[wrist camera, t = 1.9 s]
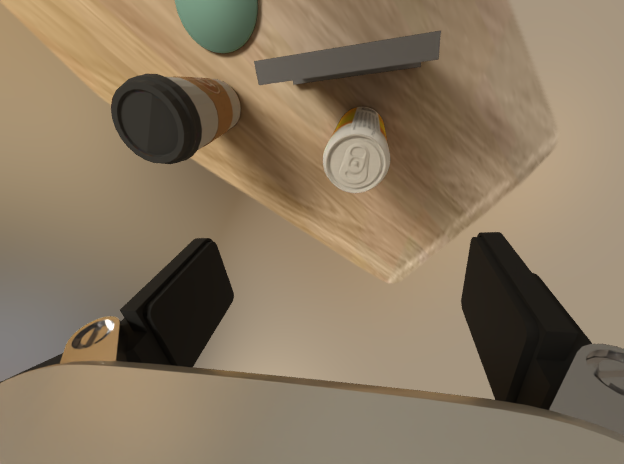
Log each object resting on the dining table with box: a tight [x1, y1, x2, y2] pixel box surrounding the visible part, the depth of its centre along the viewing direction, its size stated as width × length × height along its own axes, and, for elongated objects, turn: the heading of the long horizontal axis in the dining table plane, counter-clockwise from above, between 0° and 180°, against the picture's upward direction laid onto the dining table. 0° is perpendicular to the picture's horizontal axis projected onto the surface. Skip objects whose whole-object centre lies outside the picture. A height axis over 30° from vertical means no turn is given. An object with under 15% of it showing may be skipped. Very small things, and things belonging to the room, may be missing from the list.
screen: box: [254, 31, 441, 85], centre depth 27 cm, size 3×15×16 cm, turn 98°
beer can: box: [323, 107, 390, 193], centre depth 31 cm, size 6×6×15 cm
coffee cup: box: [111, 74, 241, 164], centre depth 33 cm, size 8×8×15 cm
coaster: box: [175, 0, 258, 53], centre depth 33 cm, size 10×10×1 cm
